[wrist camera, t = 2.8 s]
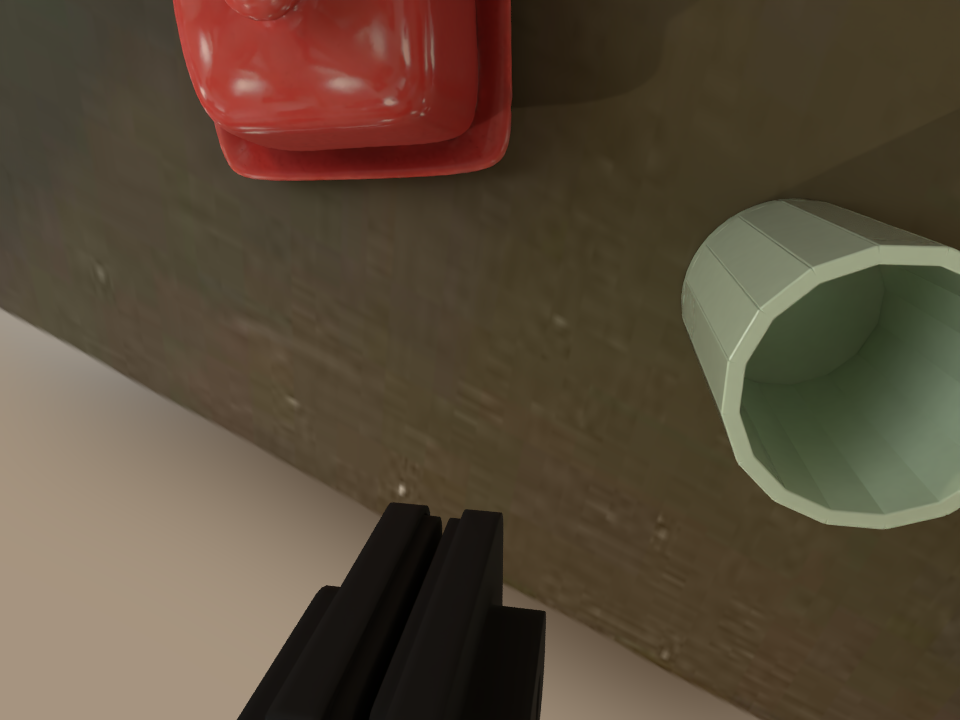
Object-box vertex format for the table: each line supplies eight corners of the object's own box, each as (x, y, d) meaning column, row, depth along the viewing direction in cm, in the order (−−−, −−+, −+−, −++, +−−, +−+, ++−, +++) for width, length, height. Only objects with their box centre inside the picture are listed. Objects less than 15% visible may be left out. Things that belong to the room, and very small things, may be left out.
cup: (672, 381, 27) (708, 514, 18) (691, 196, 25) (742, 241, 16) (867, 392, 26) (1012, 541, 17) (906, 199, 24) (1100, 250, 14)
